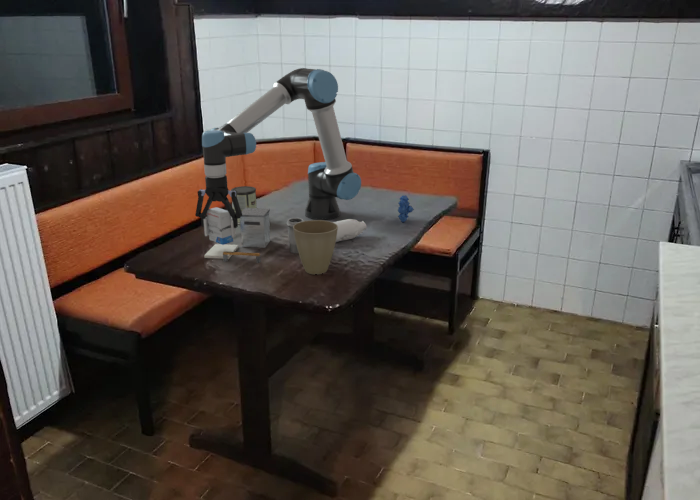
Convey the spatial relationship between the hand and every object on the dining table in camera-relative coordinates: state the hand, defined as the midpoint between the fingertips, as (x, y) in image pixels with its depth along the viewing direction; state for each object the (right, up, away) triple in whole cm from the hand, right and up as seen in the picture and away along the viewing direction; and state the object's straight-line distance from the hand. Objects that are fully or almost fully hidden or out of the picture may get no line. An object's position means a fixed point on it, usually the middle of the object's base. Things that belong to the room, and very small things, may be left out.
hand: (220, 235), depth 225 cm
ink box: (0, -2, +1) cm, 2 cm away
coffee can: (+3, +7, +38) cm, 38 cm away
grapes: (+71, +6, +36) cm, 80 cm away
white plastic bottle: (+44, -1, +16) cm, 47 cm away
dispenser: (+10, -5, +4) cm, 13 cm away
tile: (0, -6, +2) cm, 7 cm away
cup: (+28, -6, +4) cm, 28 cm away
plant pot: (+36, -13, -14) cm, 40 cm away
